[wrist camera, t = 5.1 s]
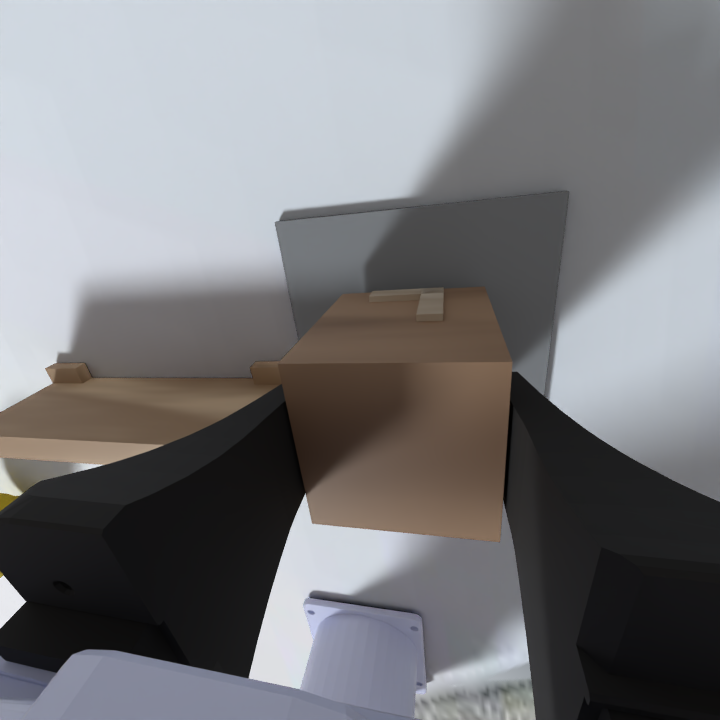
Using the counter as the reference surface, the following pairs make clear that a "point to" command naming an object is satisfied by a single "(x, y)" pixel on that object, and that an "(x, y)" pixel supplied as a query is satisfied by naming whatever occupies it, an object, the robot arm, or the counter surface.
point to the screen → (121, 413)
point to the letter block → (403, 412)
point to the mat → (439, 262)
